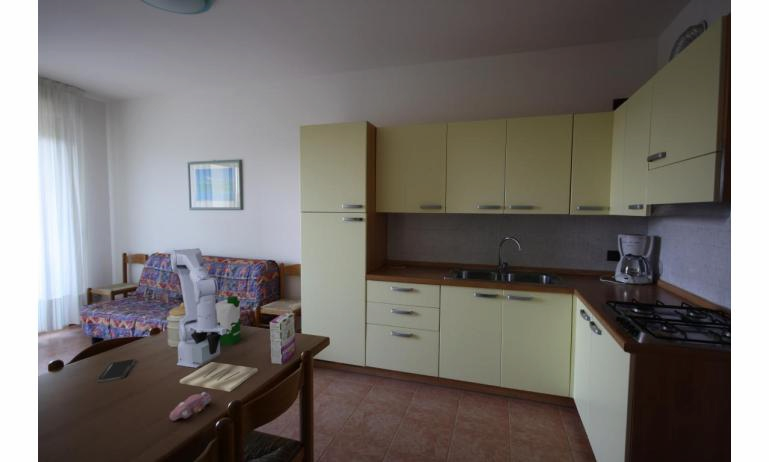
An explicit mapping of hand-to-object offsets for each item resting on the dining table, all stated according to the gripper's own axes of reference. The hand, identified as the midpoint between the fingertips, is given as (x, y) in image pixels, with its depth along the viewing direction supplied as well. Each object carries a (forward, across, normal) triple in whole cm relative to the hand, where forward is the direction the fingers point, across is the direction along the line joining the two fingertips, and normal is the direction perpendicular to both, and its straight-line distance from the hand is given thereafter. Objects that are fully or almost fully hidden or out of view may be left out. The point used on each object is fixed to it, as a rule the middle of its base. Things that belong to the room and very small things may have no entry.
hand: (207, 352), depth 116 cm
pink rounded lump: (+9, +12, -19) cm, 24 cm away
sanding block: (+2, 0, -1) cm, 2 cm away
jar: (+9, -34, +22) cm, 42 cm away
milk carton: (+9, -15, +28) cm, 33 cm away
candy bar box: (+9, +17, +20) cm, 28 cm away
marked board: (+8, +4, +1) cm, 9 cm away
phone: (+9, -35, -6) cm, 36 cm away
